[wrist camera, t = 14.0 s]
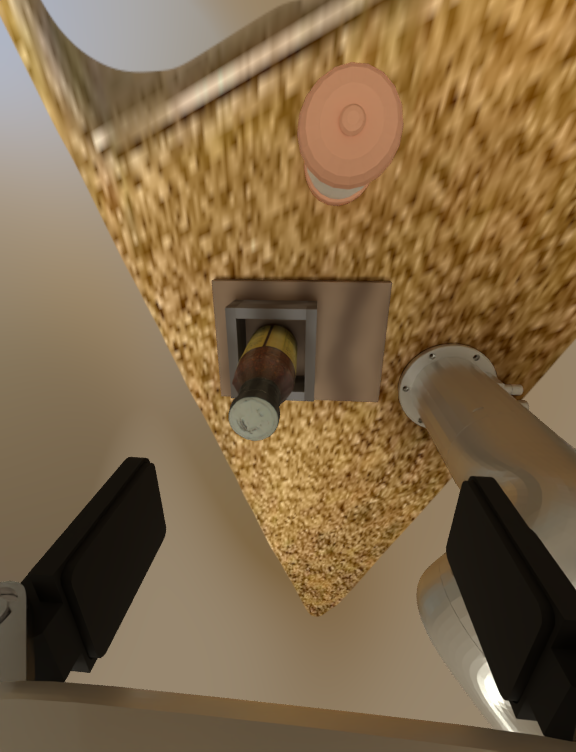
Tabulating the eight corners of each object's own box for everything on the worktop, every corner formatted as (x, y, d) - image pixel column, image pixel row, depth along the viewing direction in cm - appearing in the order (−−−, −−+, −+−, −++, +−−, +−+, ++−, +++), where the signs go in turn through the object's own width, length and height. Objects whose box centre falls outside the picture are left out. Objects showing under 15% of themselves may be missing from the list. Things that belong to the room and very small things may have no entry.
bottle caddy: (389, 281, 42) (400, 289, 36) (376, 397, 49) (384, 420, 43) (215, 279, 44) (198, 286, 38) (224, 391, 50) (211, 413, 44)
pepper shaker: (330, 220, 40) (339, 211, 23) (292, 164, 38) (268, 109, 21) (384, 174, 38) (439, 126, 20) (345, 113, 36) (370, 2, 19)
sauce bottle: (251, 365, 47) (208, 451, 28) (251, 320, 44) (202, 382, 26) (299, 367, 46) (287, 456, 28) (301, 322, 44) (289, 387, 26)
